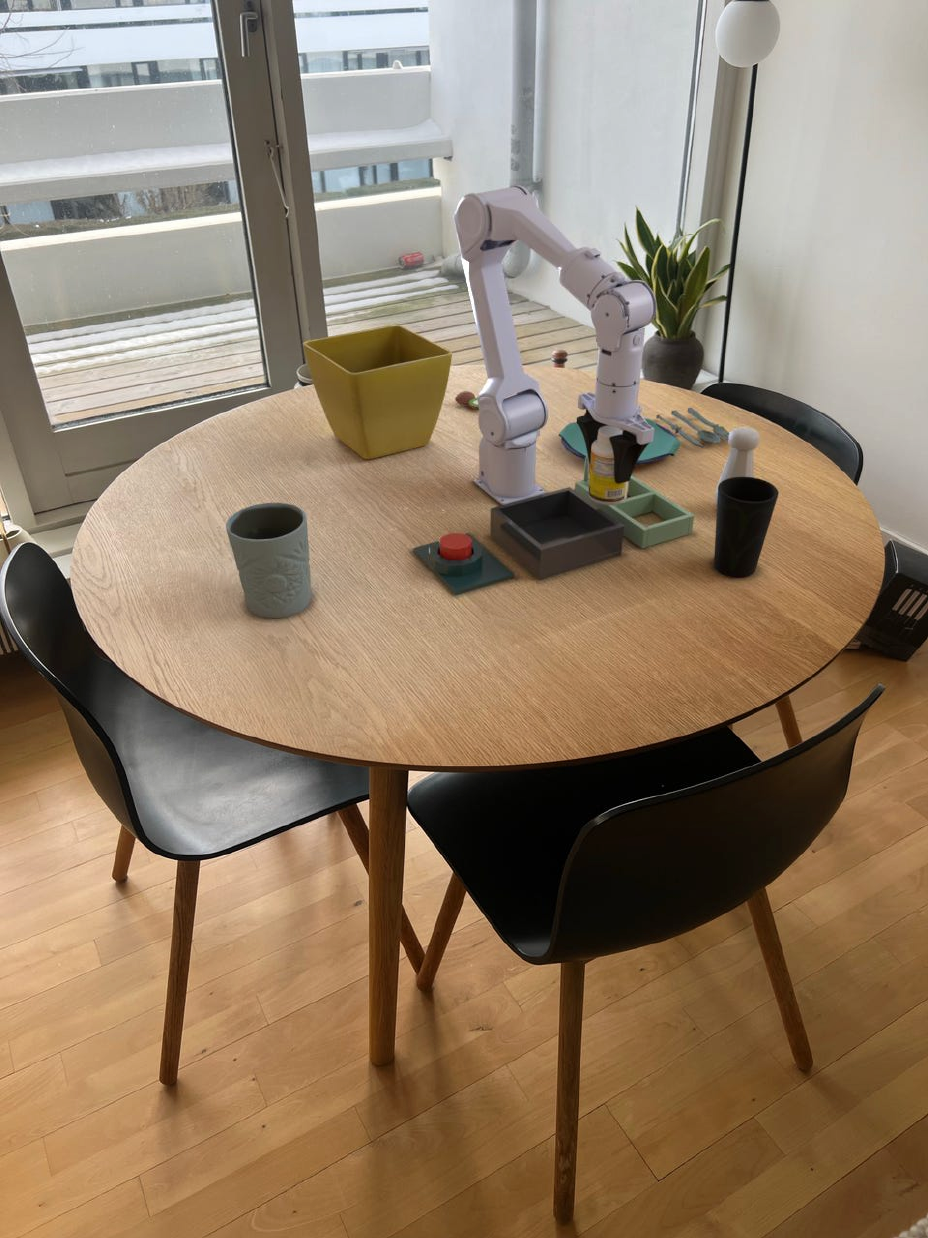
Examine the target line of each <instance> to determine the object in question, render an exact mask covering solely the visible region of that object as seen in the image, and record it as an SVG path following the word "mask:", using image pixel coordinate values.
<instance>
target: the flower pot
mask: <svg viewBox="0 0 928 1238" xmlns="http://www.w3.org/2000/svg"><path fill="white" fill-rule="evenodd" d="M302 346H303V347H302V348H303V352H304V356H305V360H306V364H307V367H308V371H309V374H310V377H311V380H312V384H313V387H314V389H315V392H316V396H317V397H318V401H319V404H320V406H321V408H322V412H323V413H324V415H325V418H326V420H327V422H328V425H329V427H330V429H331V431H332V433H333V434H334V437H335V438H337V439H338V440H339V441H341V442H342V443H343V444H344V445H345V446H347V447H348V448H350V450H352V451H353V452H355V453H356V454H357V455H358V456H360V457H361V458H362V459H365V460H373V459H376V458H381V457H384V456H385V457H386V456H389V455H393V454H397V453H400V452H404V451H408V450H412V449H416V448H419V447H424V446H426V445H428V444H429V443H430V440H431V439H432V436H433V433H434V430H435V429H436V425H437V422H438V420H439V416H440V413H441V410H442V407H443V402H444V399H445V397H446V392H447V387H448V382H449V376H450V371H451V365H452V358H453V352H452V351H451V350H450V349H447V348H445V347H444V346H441V345H440V344H437V343H436V342H434V341H432V340H430V339H428V338H426V337H424V336H423V335H420V334H419V333H417V332H415V331H413V330H411V329H409V328H407V327H406V326H403V325H400V324H391V325H385V326H381V327H374V328H370V329H365V330H359V331H354V332H348V333H343V334H338V335H337V334H336V335H332V336H326V337H321V338H317V339H311V340H306V341H304V342H302Z"/></svg>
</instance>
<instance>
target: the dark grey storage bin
mask: <svg viewBox="0 0 928 1238" xmlns="http://www.w3.org/2000/svg"><path fill="white" fill-rule="evenodd" d="M489 521H490V527H489V528H490V529H489V530H490V539H491V540H493V541H494V542H495V543H496V544H498V546H500V547H501V548H502V549H503V550H504V551H505V552H507V553H508V554H509V555H510V556H511V557H512V558H513V559H515V560H516V561H517V562H518V563H519V564H520V565H521V566H522V567H524V568H525V570H526V571H528V572H529V573H530V574H531V575H533V576H534V577H535V578H536V579H537V580H538V581H543V580H546V579H549V578H552V577H556V576H559V575H562V574H566V573H569V572H572V571H576V570H578V569H581V568H585V567H588V566H591V565H595V564H598V563H601V562H605V561H608V560H611V559H615V558H618V557H621V556H622V551H623V541H624V535H623V533H624V525H622V524H621V523H619V522H618V521H617V520H615V519H614V518H612V517H611V516H610V515H608V514H607V513H605V512H604V511H603V510H601V509H600V508H598V507H597V506H596V505H594V504H593V503H591V502H590V501H589V500H587V499H586V498H584V497H583V496H582V495H580V494H579V493H577V492H576V491H575V489H573V488H572V487H569V486H568V487H565V488H561V489H558V490H554V491H549V492H545V494H542V495H538V496H535V497H531V498H527V499H523V500H520V501H516V502H512V503H508V504H505V505H501V504H500V505H498V506H494V507H490V520H489Z"/></svg>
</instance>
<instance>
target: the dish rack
mask: <svg viewBox="0 0 928 1238" xmlns="http://www.w3.org/2000/svg"><path fill="white" fill-rule="evenodd" d="M583 469H584V471H583V480H579V481H576V482H574V491H576V492H577V493H579V494H580V495H582V496H583V497H584V498H586V499H587V500H589V501H590V502H591V503H593V504H594V505H596V506H597V507H598V508H600V509H601V510H603V511H604V512H605V513H607V514H608V515H610V516H611V517H612V518H614V519H615V520H617V521H618V522H619V523H621V524H622V525H624V533H623V537H625V538H626V539H628V540H629V541H631V542H632V543H633V544H634V545H636V546H637V547H638V548H640V549H646V548H649V547H652V546H655V545H658V544H662V543H665V542H668V541H671V540H674V539H678V538H682V537H684V536H688V535H692V534H693V529H694V521H695V514H693V513H692V512H690V511H688V510H687V509H686V508H683V507H682V506H681V505H679V504H677V503H676V502H674V501H673V500H671V499H670V498H668V497H666V496H665V495H663V494H662V493H661V492H658V491H657V490H656V489H654V488H653V487H651V486H649V485H648V484H646V483H645V482H643V481H641V480H640V479H639V478H637V477H635V476H634V475H633V474H632V475H631V478H630V481H629V484H628V494H627V496H629V497H627V498H626V499H625V501H623V502H622V503H619V504H616V505H602V504H599V503H596V502H594V501H593V500H591V499H590V497H589V494H588V492H589V475H590V464H589V459H588V457H586V458H585V459H584V468H583ZM651 512H653V513H655V514H656V515H658V516H659V517H660V518H662V519H664V521H661V522H657V523H654V524H650V525H647V526H644V525H643V524H641V523H640V522H639V521H637V520H636V519H634V517H637V516H641V515H645V514H648V513H651Z"/></svg>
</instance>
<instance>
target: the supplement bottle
mask: <svg viewBox="0 0 928 1238" xmlns="http://www.w3.org/2000/svg"><path fill="white" fill-rule="evenodd" d="M622 433H623V431H622V430H621V429H619V428H616V427H613V426H610V425H608V426H603V427H601V428H600V429H599V430H598V436H597V438H598V439H597V440H596V441H594V442H593V444H592V446H591V460H590V464H589V476H588V479H589V492H588V494H589V497H590V499H591V500H593V501H594V502H596V503H599V504H602V505H616V504H619V503H622V502H623V501H625V499H627V498H628V484H629V481H627V482H624V483H620V484H617V483H616V482H615V479H614V454H613V449H612V446H611V443H610V441H609V437H612V436H616V435H620V434H621V435H622Z"/></svg>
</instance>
